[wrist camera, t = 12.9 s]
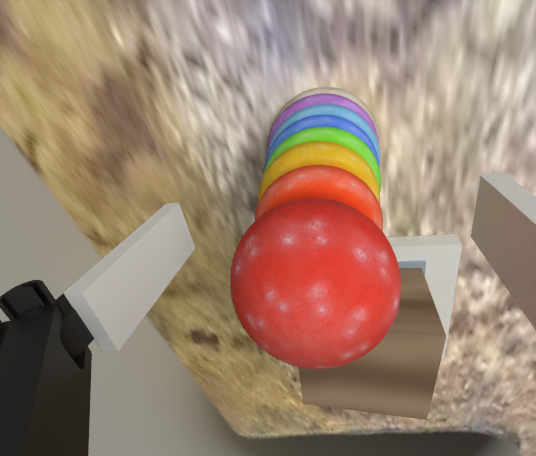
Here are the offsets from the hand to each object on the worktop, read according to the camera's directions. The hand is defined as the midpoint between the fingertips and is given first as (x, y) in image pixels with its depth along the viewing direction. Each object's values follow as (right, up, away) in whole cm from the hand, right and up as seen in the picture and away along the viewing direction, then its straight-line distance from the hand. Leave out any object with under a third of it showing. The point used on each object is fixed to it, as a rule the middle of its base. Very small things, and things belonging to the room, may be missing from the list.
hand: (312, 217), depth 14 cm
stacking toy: (+2, +6, +10) cm, 12 cm away
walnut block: (+7, -8, +15) cm, 18 cm away
